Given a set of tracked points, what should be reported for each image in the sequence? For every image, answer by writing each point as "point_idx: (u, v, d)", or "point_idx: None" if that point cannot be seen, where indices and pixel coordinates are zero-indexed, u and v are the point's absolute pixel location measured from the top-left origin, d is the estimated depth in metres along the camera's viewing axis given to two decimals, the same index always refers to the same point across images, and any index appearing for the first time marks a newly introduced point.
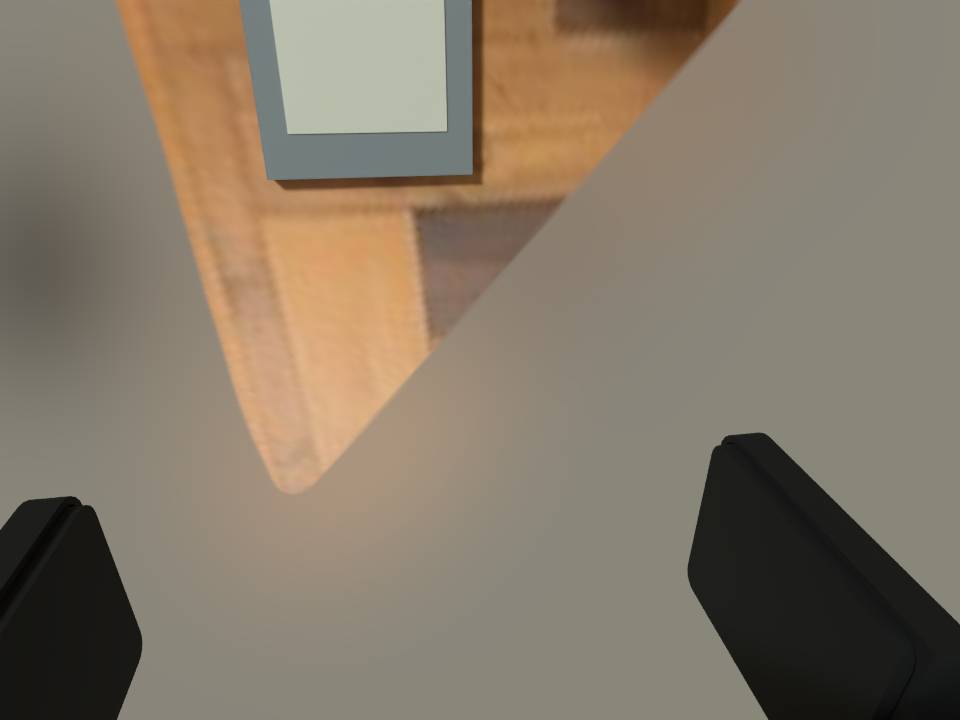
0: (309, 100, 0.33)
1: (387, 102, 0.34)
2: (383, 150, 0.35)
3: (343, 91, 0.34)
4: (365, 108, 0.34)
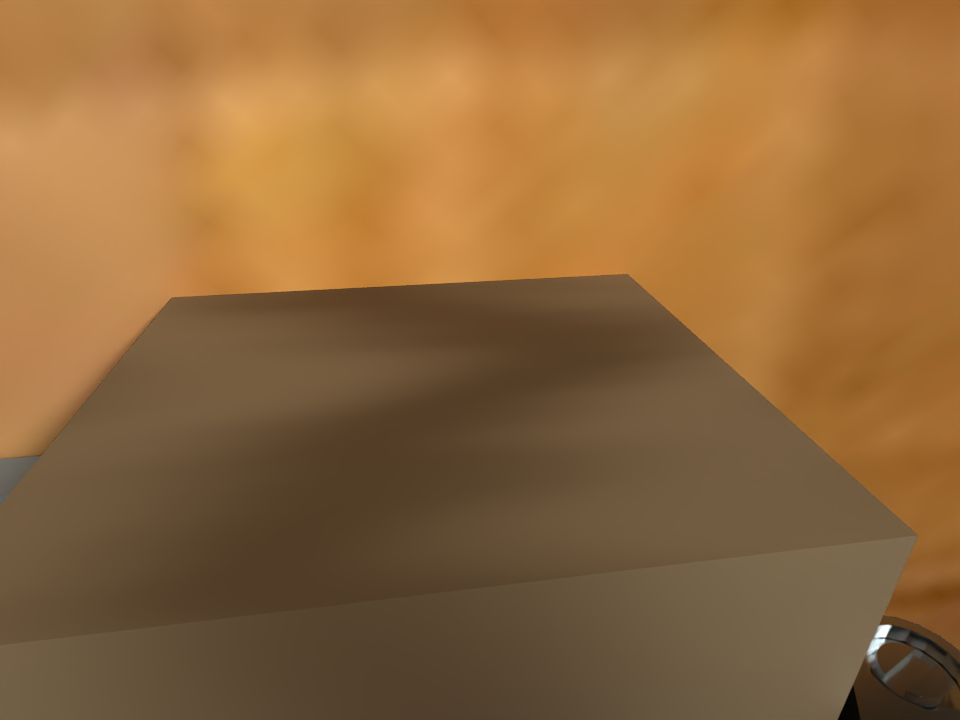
0: None
1: None
2: None
3: None
4: None
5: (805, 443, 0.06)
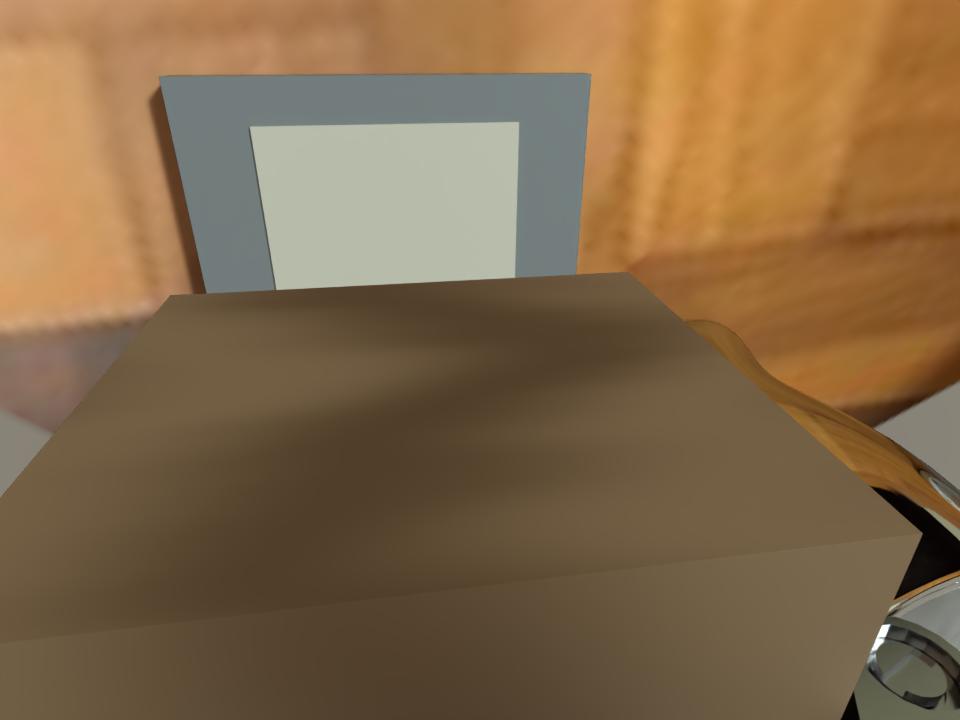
0: (309, 169, 0.21)
1: (320, 287, 0.23)
2: (246, 279, 0.22)
3: (328, 222, 0.22)
4: (307, 255, 0.22)
5: (807, 441, 0.06)
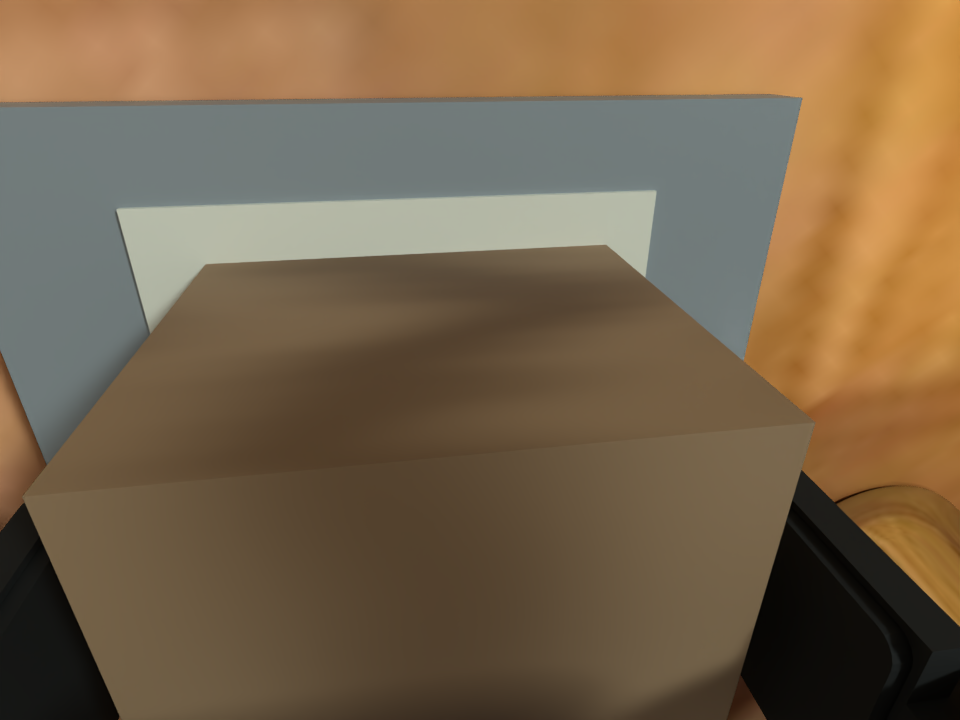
0: None
1: None
2: None
3: None
4: None
5: (738, 364, 0.07)
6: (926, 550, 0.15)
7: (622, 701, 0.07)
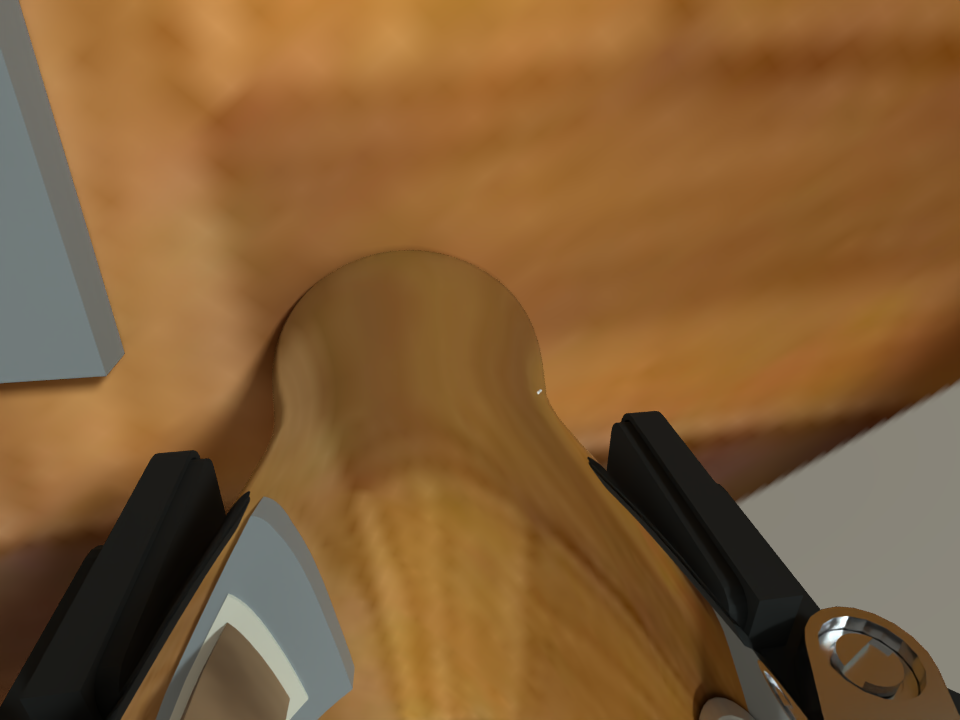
0: None
1: None
2: None
3: None
4: None
5: None
6: (375, 302, 0.11)
7: None
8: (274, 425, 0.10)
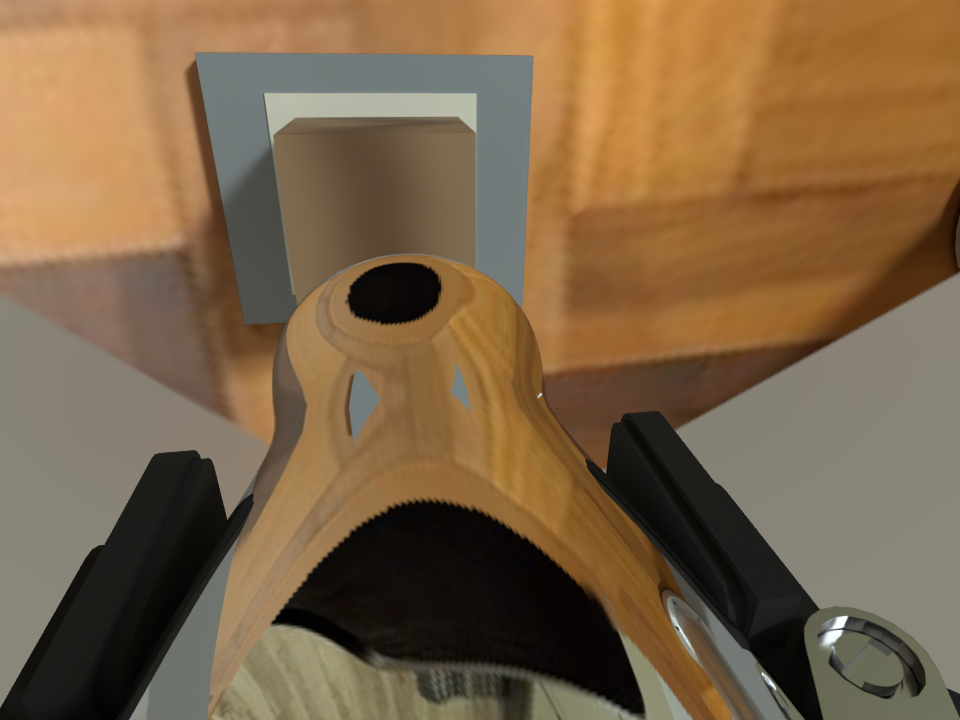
0: None
1: None
2: (259, 218, 0.28)
3: None
4: None
5: (469, 129, 0.23)
6: (375, 305, 0.11)
7: (436, 241, 0.23)
8: (274, 429, 0.10)
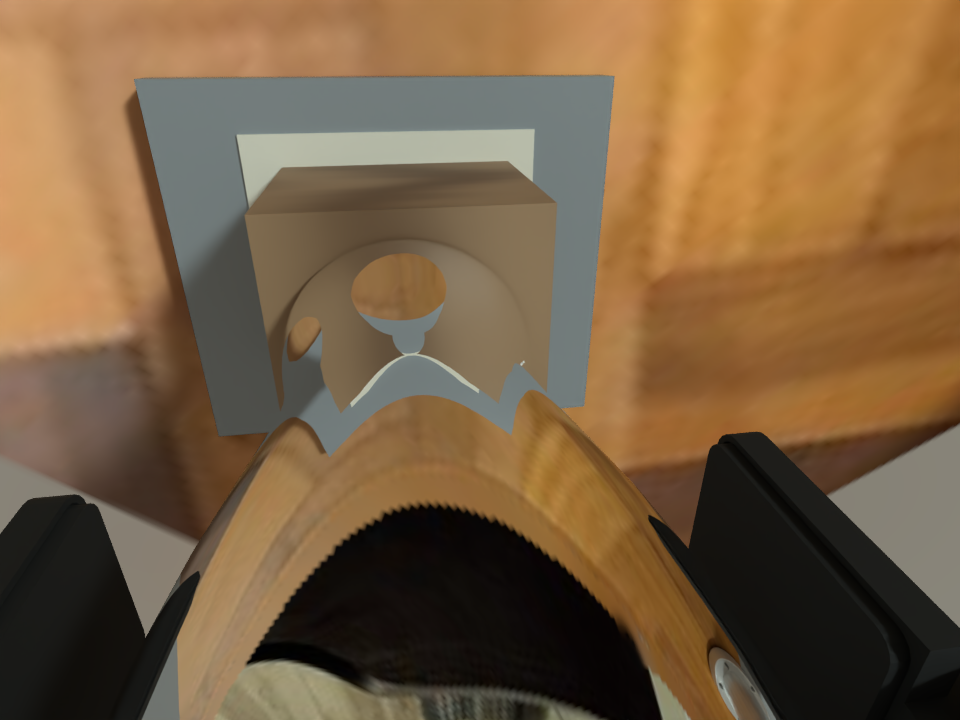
0: None
1: None
2: (234, 301, 0.20)
3: None
4: None
5: (540, 192, 0.15)
6: (374, 285, 0.12)
7: None
8: (284, 396, 0.12)
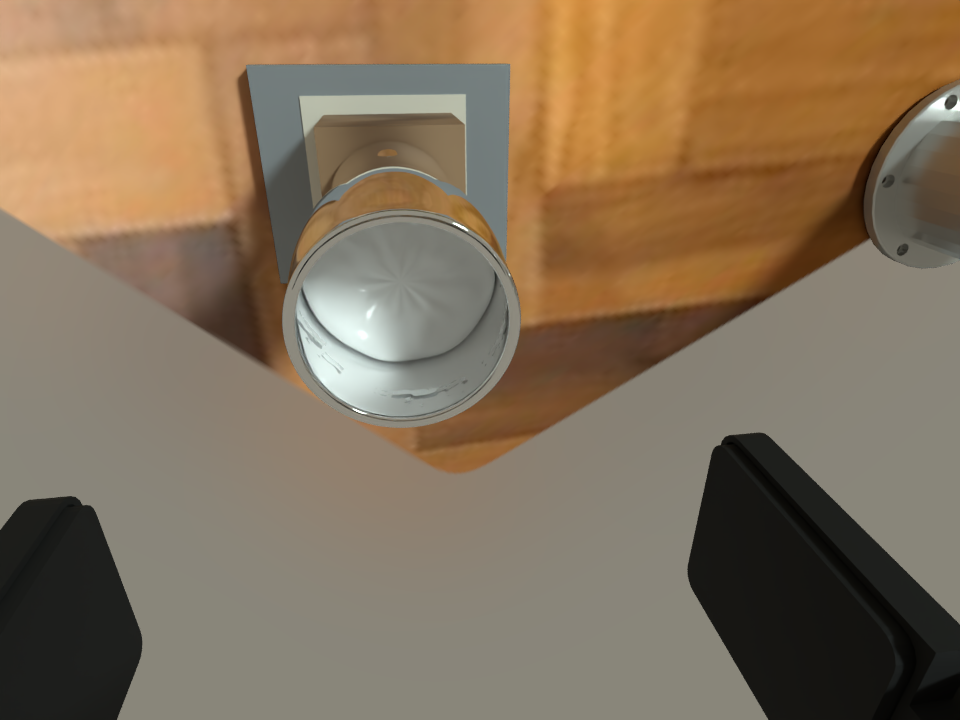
0: None
1: None
2: (293, 195, 0.35)
3: None
4: None
5: (459, 121, 0.30)
6: (375, 155, 0.27)
7: None
8: None
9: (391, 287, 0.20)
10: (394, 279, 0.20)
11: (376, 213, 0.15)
